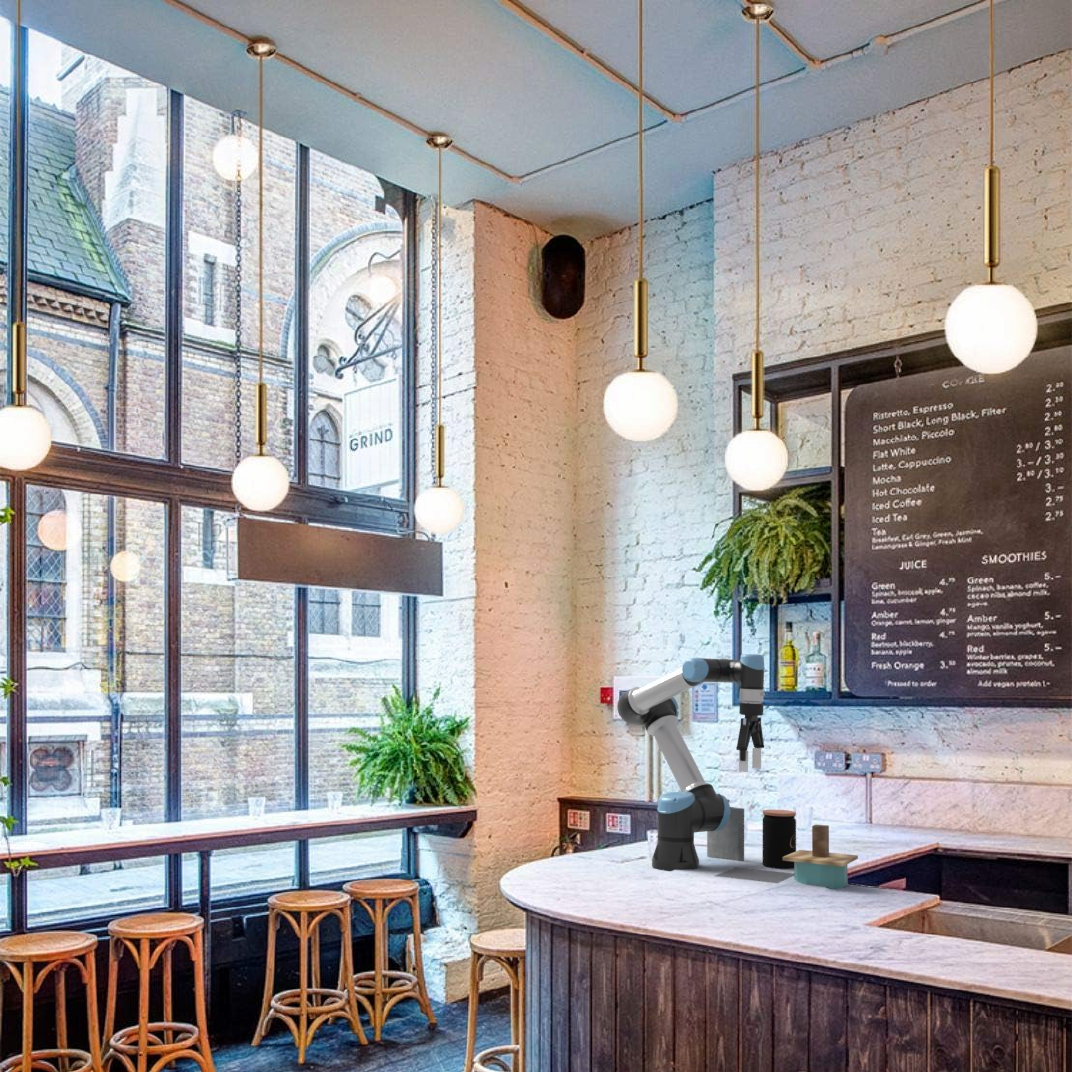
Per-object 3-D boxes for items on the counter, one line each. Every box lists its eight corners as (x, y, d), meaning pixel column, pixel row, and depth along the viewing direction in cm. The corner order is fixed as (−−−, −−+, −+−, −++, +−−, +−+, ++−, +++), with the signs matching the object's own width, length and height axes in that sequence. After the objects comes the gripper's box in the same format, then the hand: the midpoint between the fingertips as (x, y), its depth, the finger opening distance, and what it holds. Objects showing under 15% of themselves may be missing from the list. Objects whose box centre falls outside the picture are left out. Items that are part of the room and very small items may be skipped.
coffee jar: (796, 871, 368) (796, 814, 370) (762, 869, 370) (762, 812, 372) (795, 866, 379) (795, 810, 381) (762, 864, 381) (762, 808, 383)
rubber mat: (713, 877, 353) (713, 875, 353) (735, 869, 370) (735, 867, 370) (777, 885, 343) (777, 883, 343) (796, 875, 361) (796, 873, 361)
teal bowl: (789, 884, 345) (789, 860, 346) (803, 877, 358) (803, 854, 359) (839, 889, 338) (839, 865, 339) (852, 882, 351) (851, 858, 352)
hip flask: (746, 862, 385) (746, 801, 387) (737, 863, 382) (737, 801, 385) (711, 855, 397) (711, 796, 400) (703, 856, 395) (703, 797, 397)
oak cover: (782, 860, 345) (782, 826, 347) (799, 853, 361) (799, 820, 362) (843, 866, 337) (842, 831, 338) (857, 858, 352) (857, 825, 353)
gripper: (750, 704, 356) (749, 773, 354) (774, 702, 378) (773, 768, 376) (727, 702, 359) (725, 771, 357) (752, 701, 381) (750, 766, 379)
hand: (750, 770), depth 367 cm, fingers open, 13 cm apart
